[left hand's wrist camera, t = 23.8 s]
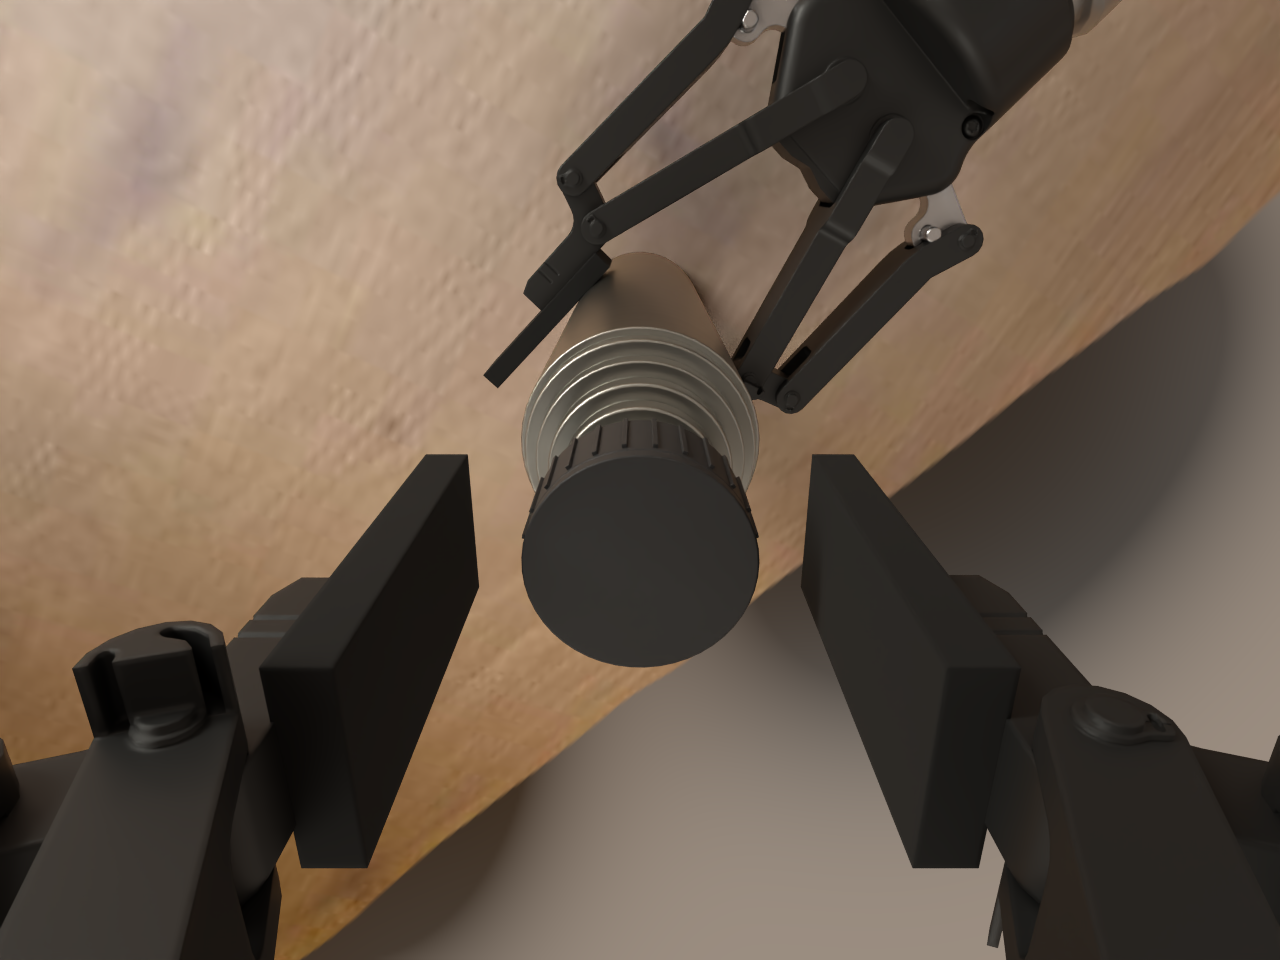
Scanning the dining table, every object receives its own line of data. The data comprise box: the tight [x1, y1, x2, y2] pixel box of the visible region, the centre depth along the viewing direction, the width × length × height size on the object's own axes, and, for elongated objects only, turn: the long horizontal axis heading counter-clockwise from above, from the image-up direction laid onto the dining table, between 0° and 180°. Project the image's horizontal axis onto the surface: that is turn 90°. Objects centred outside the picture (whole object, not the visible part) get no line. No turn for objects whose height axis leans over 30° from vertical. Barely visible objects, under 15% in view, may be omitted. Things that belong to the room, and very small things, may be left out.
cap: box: [521, 418, 759, 667], centre depth 14 cm, size 4×4×2 cm
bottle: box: [521, 252, 759, 493], centre depth 25 cm, size 6×6×25 cm
